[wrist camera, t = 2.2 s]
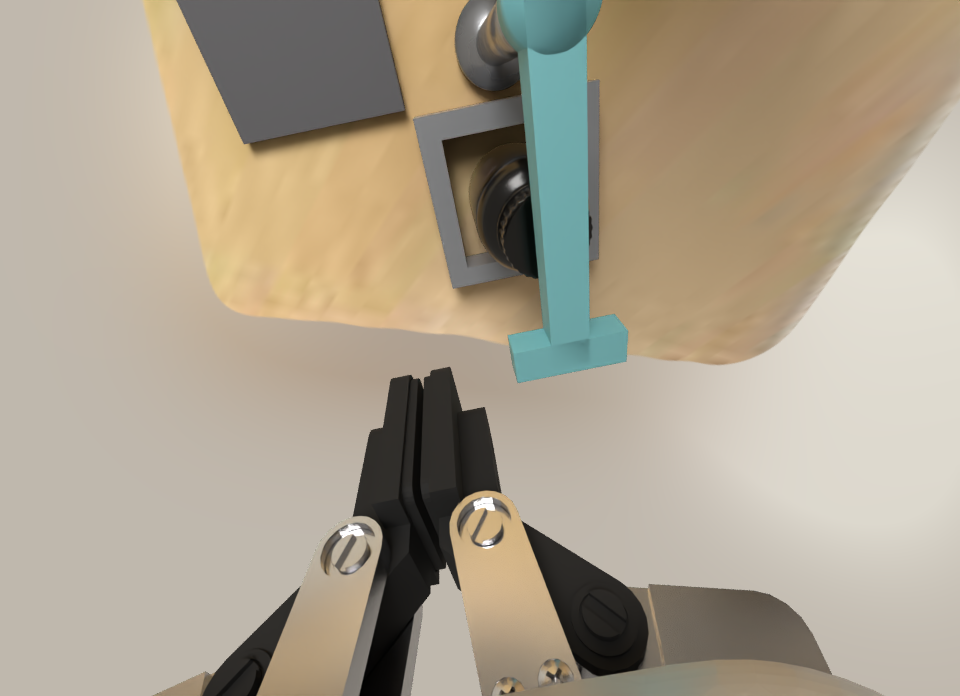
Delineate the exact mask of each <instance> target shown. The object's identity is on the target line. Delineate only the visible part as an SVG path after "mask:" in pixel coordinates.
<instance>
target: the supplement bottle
mask: <svg viewBox="0 0 960 696" xmlns="http://www.w3.org/2000/svg"><path fill="white" fill-rule="evenodd" d="M469 200H470V205H471V210H472V213H473V217H474V220H475V224H476V227H477V231H478V234H479V237H480V239H481V242H482V244H483V246H484V247H485V249H486V251H487V252H488V253H489V255H490V256H491V257H492V258H493V259H494V260H496V261H497V262H498V263H499V264H501V265H503V266H504V267H507V268H509V269H512V270H515V271H518V272H519V273H522V274H524V275H525V276H527V277H532V278H534V279H537V278H539V277H538V266H537V256H536V245H535V234H534V223H533V212H532V201H531V191H530V180H529V169H528V158H527V147H526V144H525V143H507V144H503V145H500V146H498V147H496V148H494V149H492V150H491V151H489V152H488V153H487V154H486V155H485V156H484V157H483V158H482V159H481V160H480V161H479V163H478V164H477V166H476V168H475V169H474V172H473V174H472V177H471V181H470V186H469ZM589 210H590V206H589V197H588V220H589V246H590V240H591V238H592V229H593V226H592V224H591V223H592V217H591V216H590V215H589V213H590V212H589Z"/></svg>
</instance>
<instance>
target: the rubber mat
mask: <svg viewBox="0 0 960 696" xmlns="http://www.w3.org/2000/svg"><path fill="white" fill-rule="evenodd" d="M177 2H178V5H179V7H180V9H181V11H182V13H183V15H184V17H185V19H186V22H187V24H188V26H189V28H190V30H191V32H192V34H193V37H194V39H195V41H196V43H197V45H198V47H199V49H200V52H201V54H202V56H203V58H204V60H205V62H206V64H207V67H208V69H209V71H210V73H211V75H212V77H213V79H214V81H215V84H216V86H217V88H218V90H219V92H220V94H221V96H222V99H223V101H224V103H225V105H226V107H227V109H228V111H229V114H230V116H231V118H232V120H233V122H234V124H235V126H236V128H237V131H238V133H239V135H240V137H241V139H242V141H243V143H244V144H248V143H253V142H257V141H262V140H267V139H272V138H276V137H281V136H286V135H290V134H295V133H300V132H305V131H309V130H314V129H319V128H324V127H328V126H333V125H338V124H343V123H347V122H352V121H357V120H362V119H366V118H371V117H376V116H381V115H385V114H390V113H395V112H400V111H404V110H405V105H404V101H403V97H402V93H401V89H400V85H399V81H398V77H397V72H396V68H395V64H394V60H393V56H392V52H391V48H390V43H389V39H388V35H387V31H386V27H385V23H384V19H383V15H382V10H381V6H380V2H379V0H177Z"/></svg>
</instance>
